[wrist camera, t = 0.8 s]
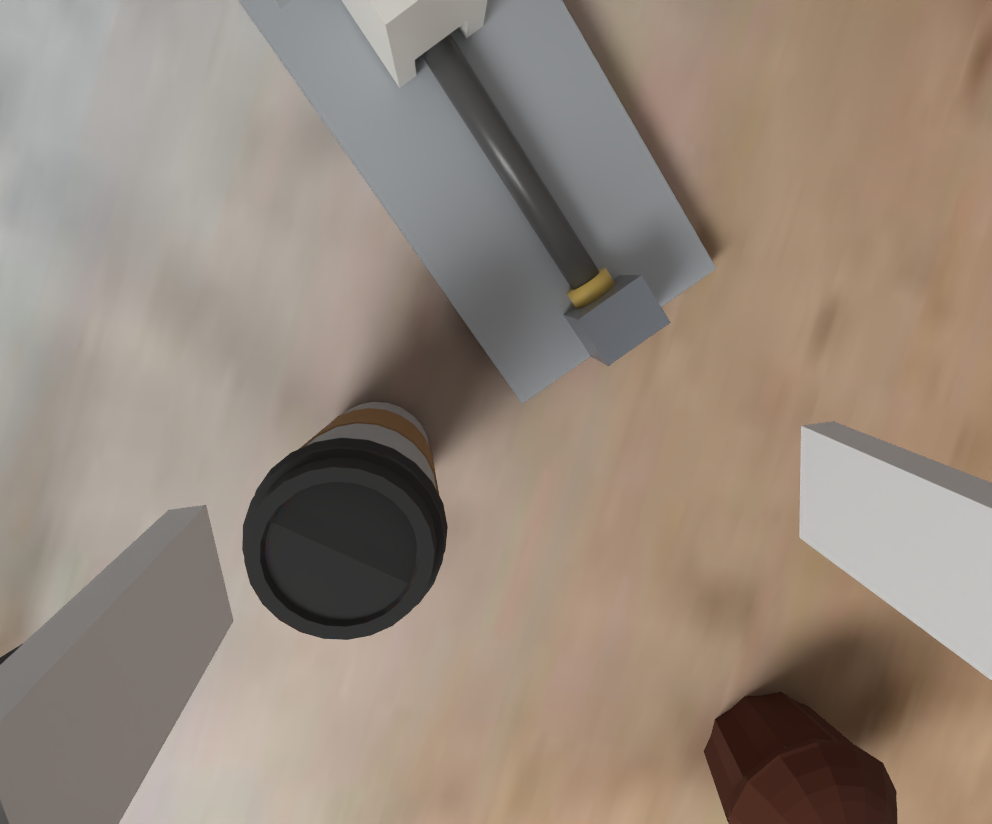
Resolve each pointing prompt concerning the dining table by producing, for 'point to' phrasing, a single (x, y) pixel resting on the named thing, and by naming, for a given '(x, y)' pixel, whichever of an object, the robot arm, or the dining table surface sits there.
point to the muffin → (794, 768)
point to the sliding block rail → (505, 178)
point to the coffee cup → (348, 526)
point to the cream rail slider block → (412, 28)
